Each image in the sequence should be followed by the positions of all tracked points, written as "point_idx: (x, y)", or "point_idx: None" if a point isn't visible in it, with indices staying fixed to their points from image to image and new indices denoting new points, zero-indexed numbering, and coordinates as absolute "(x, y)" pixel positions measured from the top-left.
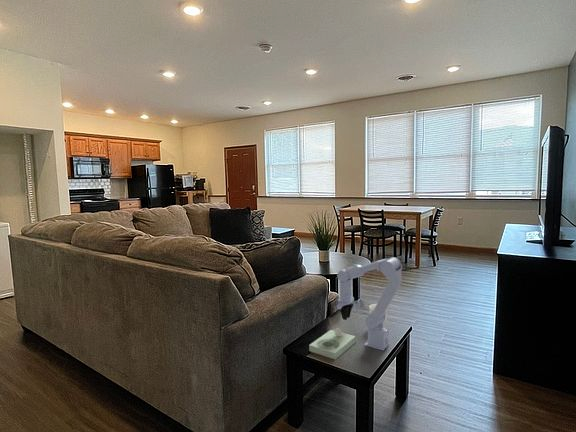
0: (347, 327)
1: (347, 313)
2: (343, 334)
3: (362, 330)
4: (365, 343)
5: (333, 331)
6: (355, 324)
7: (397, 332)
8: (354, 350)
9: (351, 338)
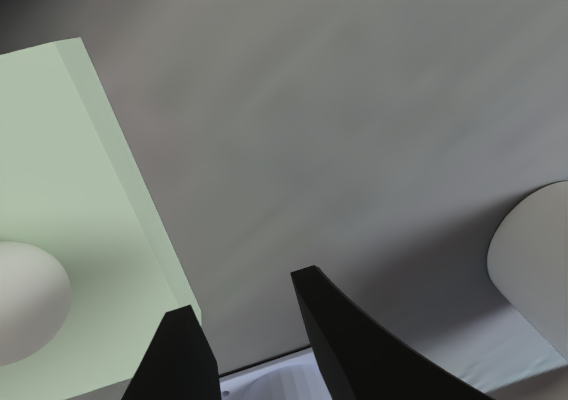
0: (409, 22)
1: (331, 379)
2: (118, 264)
3: (437, 186)
4: (232, 380)
5: (50, 121)
6: (529, 33)
7: (539, 347)
8: (85, 395)
9: (129, 368)
